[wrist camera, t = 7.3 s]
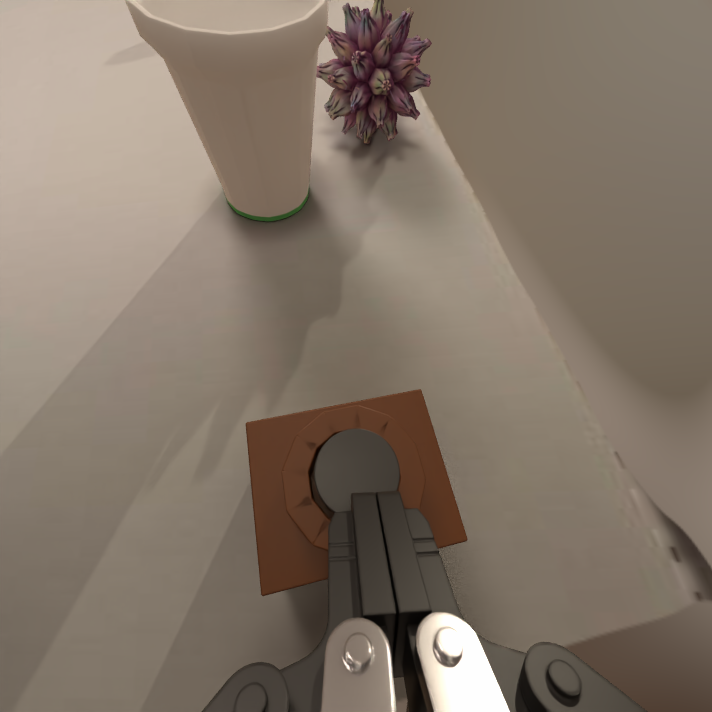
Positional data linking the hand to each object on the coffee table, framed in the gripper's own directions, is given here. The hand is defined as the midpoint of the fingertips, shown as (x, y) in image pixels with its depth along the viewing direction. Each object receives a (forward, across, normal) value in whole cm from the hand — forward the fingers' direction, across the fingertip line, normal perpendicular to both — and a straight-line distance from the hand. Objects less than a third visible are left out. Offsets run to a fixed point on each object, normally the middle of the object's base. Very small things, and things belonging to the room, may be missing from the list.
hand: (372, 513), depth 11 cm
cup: (+31, +7, -12) cm, 34 cm away
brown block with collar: (+11, 0, +9) cm, 14 cm away
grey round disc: (+5, 0, +3) cm, 5 cm away
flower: (+39, -4, -19) cm, 43 cm away
